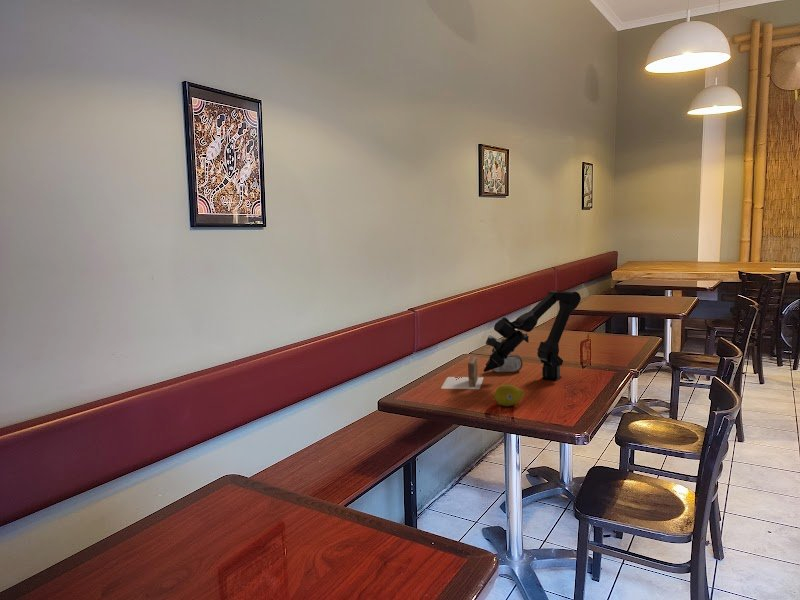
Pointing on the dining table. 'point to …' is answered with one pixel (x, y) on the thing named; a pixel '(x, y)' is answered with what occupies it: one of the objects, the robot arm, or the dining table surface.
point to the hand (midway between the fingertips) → (485, 368)
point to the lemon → (508, 395)
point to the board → (472, 371)
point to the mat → (460, 383)
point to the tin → (510, 364)
